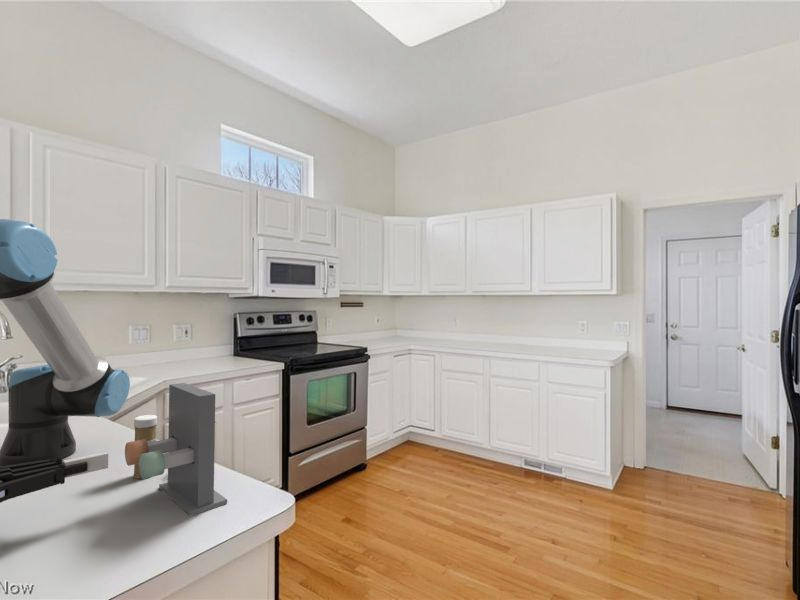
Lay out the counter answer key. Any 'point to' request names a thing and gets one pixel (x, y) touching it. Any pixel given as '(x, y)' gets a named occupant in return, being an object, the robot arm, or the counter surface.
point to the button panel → (194, 430)
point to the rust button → (147, 448)
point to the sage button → (163, 461)
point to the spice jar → (144, 433)
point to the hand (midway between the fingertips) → (107, 459)
